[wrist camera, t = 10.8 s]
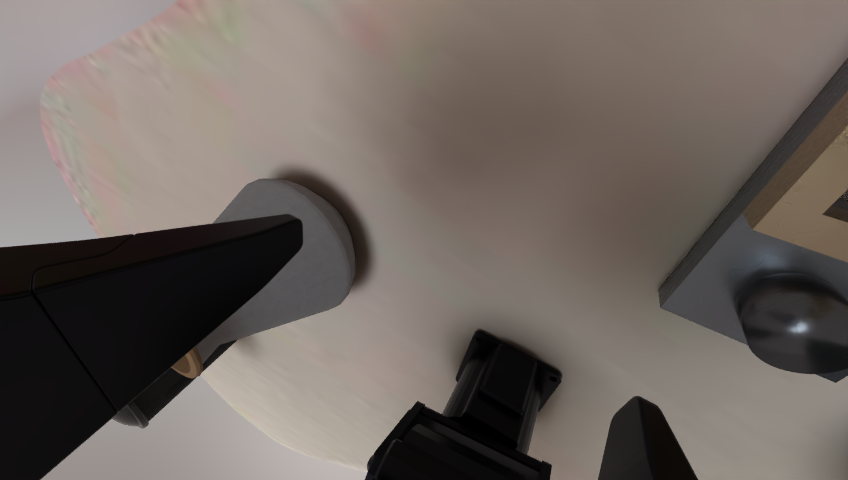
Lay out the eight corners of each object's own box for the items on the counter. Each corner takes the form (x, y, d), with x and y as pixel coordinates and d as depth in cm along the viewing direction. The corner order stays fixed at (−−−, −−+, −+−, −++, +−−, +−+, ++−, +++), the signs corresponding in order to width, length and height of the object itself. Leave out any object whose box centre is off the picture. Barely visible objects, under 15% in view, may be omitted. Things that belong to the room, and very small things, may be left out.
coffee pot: (318, 141, 24) (34, 242, 13) (398, 277, 27) (223, 460, 15) (207, 224, 37) (19, 310, 26) (268, 309, 40) (123, 421, 28)
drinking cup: (228, 290, 42) (3, 434, 27) (264, 338, 44) (71, 498, 29) (206, 298, 47) (3, 426, 32) (239, 342, 49) (62, 482, 34)
